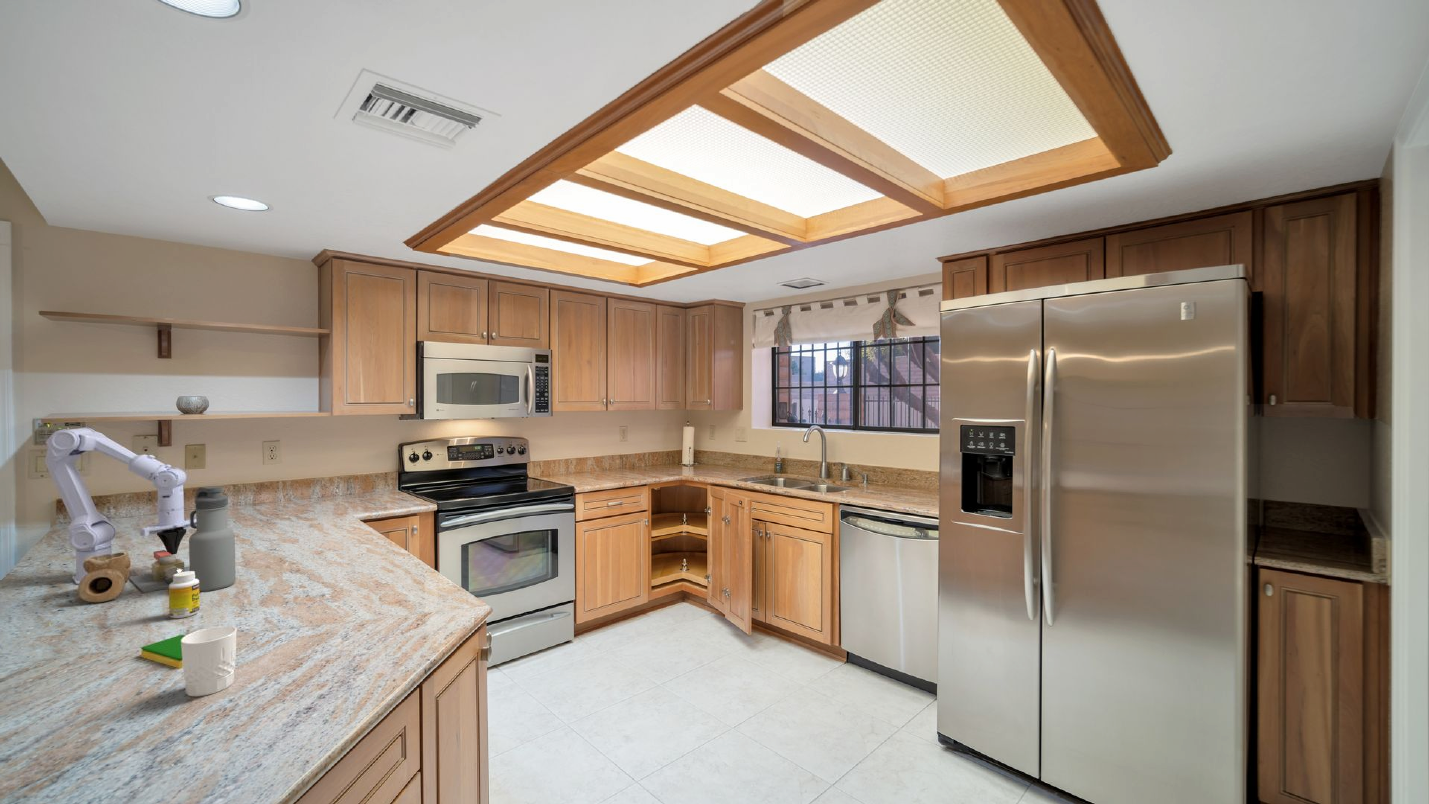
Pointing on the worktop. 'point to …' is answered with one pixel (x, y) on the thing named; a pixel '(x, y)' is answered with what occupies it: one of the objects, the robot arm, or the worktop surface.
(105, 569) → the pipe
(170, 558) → the lever
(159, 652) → the dish sponge
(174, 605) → the supplement bottle
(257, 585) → the worktop surface
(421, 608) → the worktop surface
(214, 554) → the water bottle
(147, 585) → the mat
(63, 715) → the worktop surface
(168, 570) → the valve body
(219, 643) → the white cup
